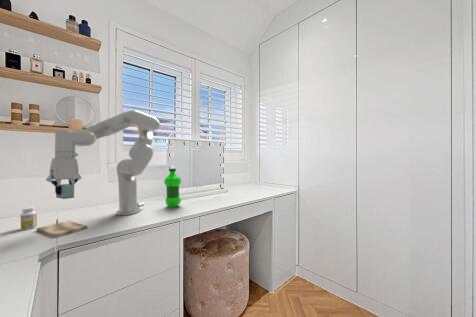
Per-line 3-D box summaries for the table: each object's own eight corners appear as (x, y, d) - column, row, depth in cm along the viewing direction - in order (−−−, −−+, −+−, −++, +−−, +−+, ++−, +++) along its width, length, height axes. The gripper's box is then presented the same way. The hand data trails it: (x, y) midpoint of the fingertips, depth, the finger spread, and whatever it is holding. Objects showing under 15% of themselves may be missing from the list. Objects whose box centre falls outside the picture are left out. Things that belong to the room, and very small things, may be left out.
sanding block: (56, 197, 99) (56, 184, 99) (66, 196, 103) (66, 184, 103) (64, 199, 96) (64, 185, 96) (73, 197, 100) (74, 185, 100)
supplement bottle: (29, 226, 103) (28, 206, 102) (40, 226, 102) (39, 206, 102) (17, 230, 97) (16, 209, 97) (28, 230, 97) (28, 209, 97)
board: (67, 222, 106) (67, 220, 106) (87, 228, 98) (87, 225, 98) (36, 230, 96) (36, 228, 96) (55, 237, 87) (55, 234, 87)
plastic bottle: (161, 208, 134) (160, 169, 133) (170, 204, 144) (169, 167, 143) (175, 208, 131) (175, 169, 131) (184, 204, 141) (183, 167, 141)
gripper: (80, 156, 109) (79, 191, 109) (38, 155, 94) (38, 195, 94) (88, 156, 106) (88, 192, 106) (47, 155, 91) (46, 197, 91)
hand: (64, 193), depth 100 cm, fingers closed on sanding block, 4 cm apart
